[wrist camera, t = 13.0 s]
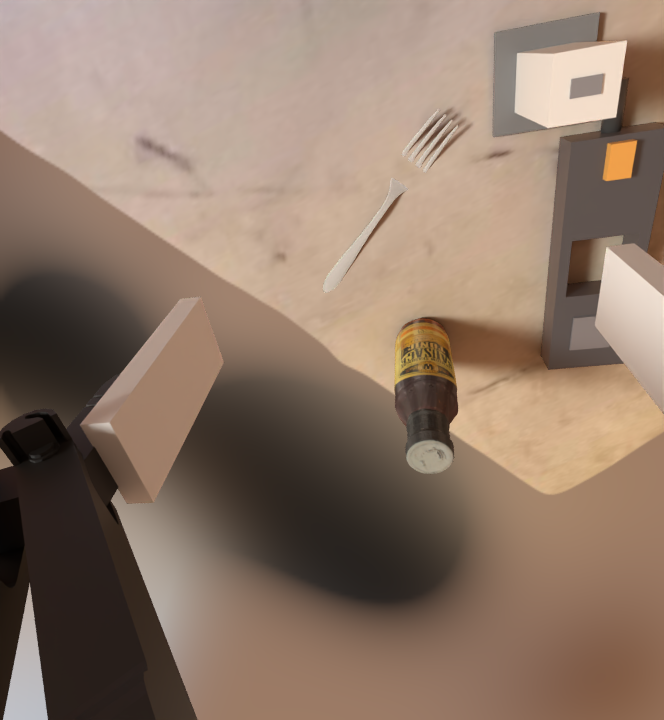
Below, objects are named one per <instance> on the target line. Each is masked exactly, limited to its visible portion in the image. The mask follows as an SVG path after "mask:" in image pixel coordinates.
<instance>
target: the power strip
mask: <svg viewBox="0 0 664 720" xmlns="http://www.w3.org/2000/svg"><path fill="white" fill-rule="evenodd" d="M628 81H629V78H622V80H621V87H620V94H619V101H618V108H617V114H616V117H614V118H608V119H602V124H601V131H596V132H590V133H583V134H577V135H571V136H564V137H560V145H559V156H558V167H557V179H556V190H555V201H554V212H553V223H552V235H551V246H550V257H549V268H548V279H547V291H546V302H545V313H544V324H543V336H542V347H541V357H542V359H543V361H544V363H545V364H546V366H547V368H548V370H550V369H562V368H574V367H586V366H599V365H611V364H623V361H622V360H621V359H620V357H619V356H618V355H617V354H616V352H615V351H614V350H613V349H612V347H611V346H610V345H609V343H608V342H607V341H606V340H605V338H604V337H603V336H602V334H601V333H600V332H599V331H598V329H597V328H596V327H595V321H596V314H597V308H598V301H599V294H600V288H601V281H602V280H600V281H591V282H582V283H573V284H567V282H568V273H569V264H570V255H571V247H572V241H579V240H587V239H595V238H603V237H611V236H620V235H624V237H623V243H622V245H624V244H632V243H634V244H636V245H637V246H638V247H640V248H641V249H642V250H644V251H645V252H646V253H647V250H648V245H649V241H650V236H651V231H652V226H653V221H654V216H655V211H656V206H657V202H658V197H659V192H660V187H661V182H662V177H663V172H664V124H660V123H656V122H654V123H647V124H641V125H635V126H628V127H622V121H623V114H624V108H625V101H626V95H627V88H628Z"/></svg>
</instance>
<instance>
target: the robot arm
mask: <svg viewBox="0 0 664 720" xmlns="http://www.w3.org/2000/svg"><path fill="white" fill-rule="evenodd" d="M595 327H596V328H597V329H598V331H599V332H600V333H601V334H602V336H603V337H604V338H605V340H606V341H607V342H608V343H609V345H610V346H611V347H612V349H613V350H614V351H615V352H616V354H617V355H618V356H619V357H620V359H621V360H622V361H623V363H624V364H625V365H626V366H627V368H628V369H629V370H630V372H631V373H632V374H633V375H634V377H635V378H636V379H637V381H638V382H639V383H640V384H641V386H642V387H643V388H644V390H645V391H646V392H647V393H648V395H649V396H650V397H651V399H652V400H653V401H654V402H655V404H656V405H657V406H658V408H659V409H660V410H661V411H662V413H663V414H664V266H663V265H662V264H661V263H659V262H658V261H657V260H656V259H654V258H653V257H652V256H650V255H649V254H648V253H646V252H645V251H644V250H642V249H641V248H640V247H638V246H637V245H636V244H634V243H632V244H624V245H616V246H608V247H607V248H606V255H605V261H604V268H603V275H602V281H601V288H600V294H599V301H598V308H597V314H596V321H595ZM222 365H223V359H222V356H221V353H220V350H219V347H218V344H217V342H216V339H215V336H214V333H213V330H212V327H211V324H210V321H209V319H208V316H207V313H206V310H205V307H204V304H203V302H202V299H201V297H194V298H187V299H180V300H179V302H178V303H177V304H176V305H175V307H174V308H173V309H172V310H171V312H170V313H169V314H168V315H167V317H166V318H165V319H164V320H163V322H162V323H161V324H160V325H159V327H158V328H157V329H156V330H155V332H154V333H153V334H152V335H151V337H150V338H149V339H148V340H147V342H146V343H145V344H144V345H143V347H142V348H141V349H140V350H139V352H138V353H137V354H136V356H135V357H134V358H133V359H132V360H131V362H130V363H129V364H128V365H127V367H126V368H125V369H124V370H123V372H122V373H121V374H117V375H115V376H114V377H113V378H111V379H110V380H109V381H107V382H106V383H104V384H103V385H102V386H101V388H100V389H99V390H98V391H97V392H96V394H95V395H94V398H91V400H90V401H89V402H88V403H87V405H86V407H85V408H83V409H82V411H81V412H80V413H79V414H78V415H77V417H76V418H75V419H74V420H73V421H72V423H71V424H70V425H69V426H68V427H67V429H66V428H65V426H64V425H63V423H62V422H61V420H60V419H59V417H58V415H57V414H56V413H55V412H54V411H53V410H52V409H40V410H34V411H32V412H29V413H26V414H23V415H22V416H20V417H18V418H16V419H14V420H12V421H11V422H10V423H8V424H7V425H6V426H5V427H3V428H2V430H1V431H0V448H1V449H2V450H3V452H4V453H5V454H6V456H7V457H8V458H9V460H10V461H11V463H12V464H13V465H14V466H11V467H8V468H4V469H1V470H0V720H3V715H4V711H5V706H6V701H7V696H8V691H9V686H10V679H11V675H12V670H13V665H14V660H15V655H16V650H17V644H18V639H19V634H20V629H21V624H22V619H23V614H24V609H25V603H26V598H27V593H28V588H29V583H30V587H31V595H32V602H33V610H34V617H35V625H36V632H37V640H38V647H39V655H40V661H41V669H42V678H43V685H44V692H45V700H46V708H47V715H48V720H197V717H196V715H195V712H194V709H193V707H192V704H191V702H190V699H189V696H188V694H187V691H186V689H185V686H184V683H183V681H182V678H181V676H180V673H179V671H178V668H177V666H176V663H175V660H174V658H173V655H172V652H171V650H170V647H169V645H168V642H167V639H166V637H165V635H164V632H163V629H162V627H161V624H160V622H159V619H158V616H157V614H156V611H155V608H154V606H153V604H152V601H151V598H150V596H149V593H148V590H147V588H146V585H145V583H144V580H143V578H142V575H141V572H140V570H139V567H138V565H137V562H136V559H135V557H134V554H133V552H132V549H131V547H130V544H129V541H128V539H127V536H126V534H125V531H124V528H123V526H122V523H121V521H120V518H119V515H118V513H117V510H116V508H115V507H114V505H113V503H112V502H111V499H112V497H113V495H114V494H115V492H116V490H117V489H118V490H119V491H120V493H121V494H122V496H123V498H124V499H125V501H126V503H127V504H132V503H152V502H154V501H155V499H156V497H157V495H158V493H159V491H160V489H161V487H162V485H163V483H164V481H165V479H166V477H167V475H168V472H169V471H170V469H171V467H172V464H173V463H174V461H175V459H176V457H177V454H178V453H179V451H180V449H181V447H182V445H183V443H184V441H185V439H186V437H187V434H188V433H189V431H190V429H191V427H192V425H193V423H194V421H195V419H196V417H197V415H198V412H199V411H200V409H201V407H202V405H203V403H204V401H205V399H206V397H207V395H208V393H209V390H210V389H211V387H212V385H213V383H214V381H215V379H216V377H217V375H218V373H219V371H220V368H221V367H222Z"/></svg>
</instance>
